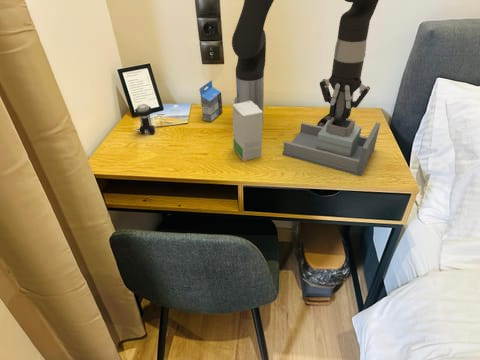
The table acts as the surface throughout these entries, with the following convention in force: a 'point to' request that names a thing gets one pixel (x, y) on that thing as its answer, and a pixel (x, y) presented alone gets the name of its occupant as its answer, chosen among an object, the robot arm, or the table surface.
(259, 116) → the skincare box
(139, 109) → the grey black upright piece
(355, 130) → the square socket block
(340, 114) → the handle peg
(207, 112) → the label tape cartridge
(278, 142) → the table surface
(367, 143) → the bay
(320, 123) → the electric trimmer
